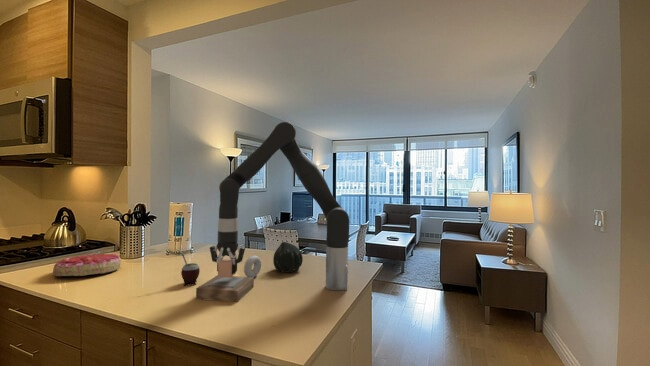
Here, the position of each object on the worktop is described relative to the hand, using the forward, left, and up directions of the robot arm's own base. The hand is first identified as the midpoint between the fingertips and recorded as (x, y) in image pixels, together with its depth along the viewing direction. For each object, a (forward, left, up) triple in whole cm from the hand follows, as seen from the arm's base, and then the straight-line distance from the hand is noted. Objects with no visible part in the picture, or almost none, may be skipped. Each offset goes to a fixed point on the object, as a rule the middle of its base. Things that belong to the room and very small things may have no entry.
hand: (226, 272), depth 116 cm
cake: (+75, -14, -8) cm, 77 cm away
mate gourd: (+20, -7, -8) cm, 23 cm away
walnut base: (0, 0, -8) cm, 8 cm away
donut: (-3, -20, -8) cm, 22 cm away
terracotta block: (0, 0, -1) cm, 1 cm away
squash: (-16, -34, -8) cm, 38 cm away
